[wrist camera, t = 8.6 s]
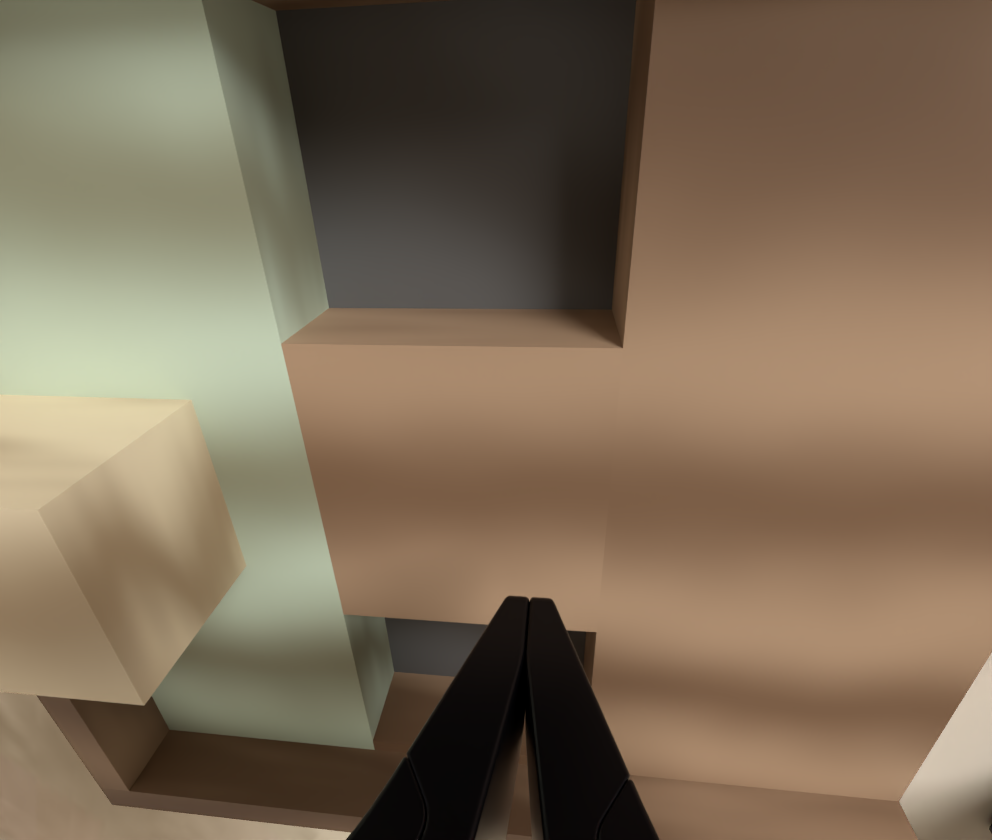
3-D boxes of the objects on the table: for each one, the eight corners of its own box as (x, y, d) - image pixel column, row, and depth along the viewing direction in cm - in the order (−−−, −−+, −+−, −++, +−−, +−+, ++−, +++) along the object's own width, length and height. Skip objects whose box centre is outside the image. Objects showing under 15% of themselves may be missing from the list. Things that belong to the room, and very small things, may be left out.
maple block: (246, 565, 14) (144, 705, 11) (78, 555, 15) (-71, 685, 11) (191, 399, 12) (37, 509, 8) (-7, 394, 12) (-228, 496, 9)
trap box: (843, 725, 19) (926, 899, 15) (201, 670, 22) (112, 804, 17) (1260, -162, 8) (2038, -490, 4) (-119, -53, 11) (-569, -177, 7)
